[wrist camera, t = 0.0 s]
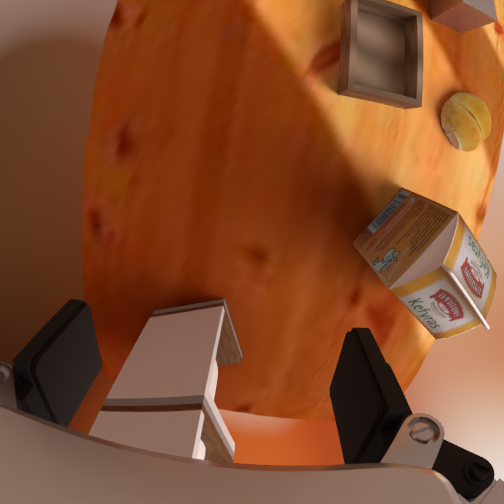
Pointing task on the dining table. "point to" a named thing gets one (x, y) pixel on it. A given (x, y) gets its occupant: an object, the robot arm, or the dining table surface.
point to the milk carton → (430, 263)
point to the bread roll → (465, 121)
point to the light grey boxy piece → (174, 385)
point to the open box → (381, 53)
